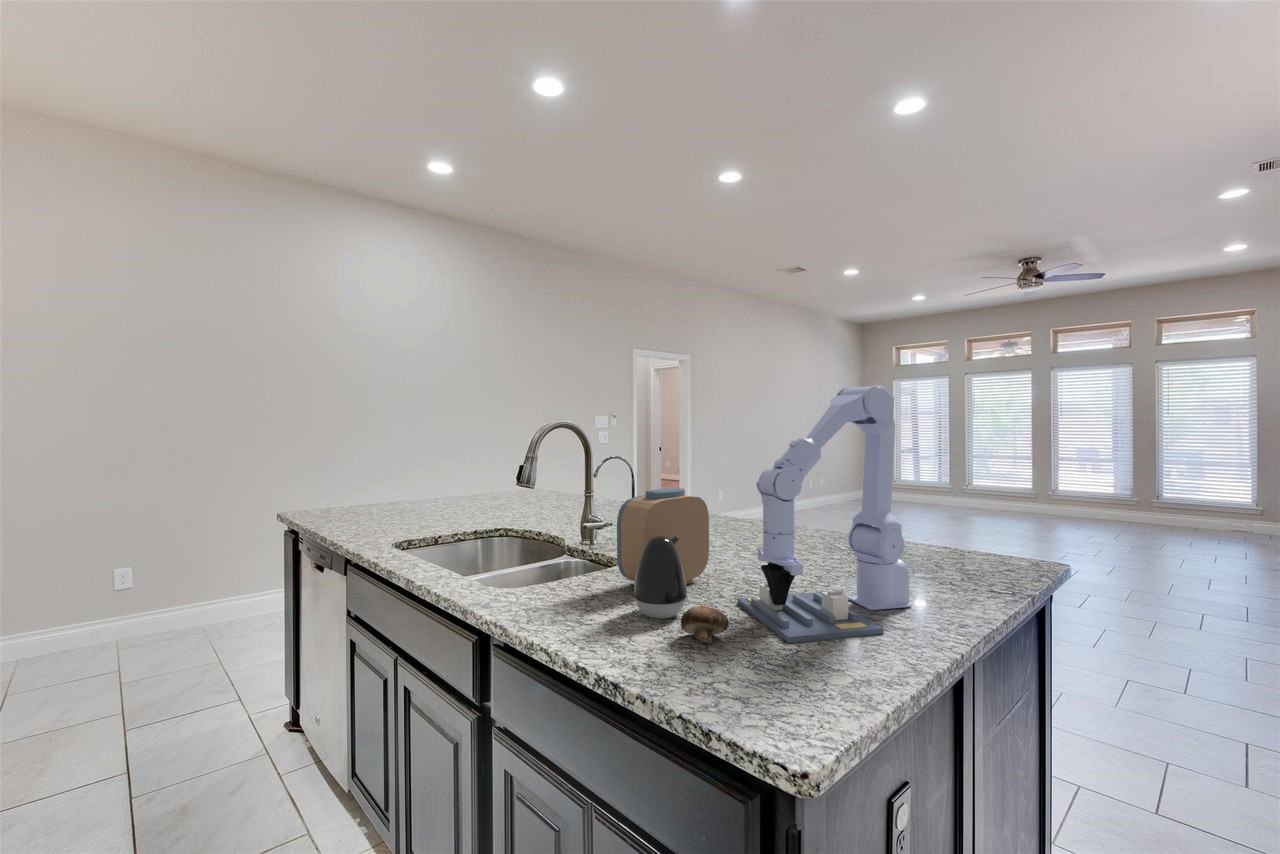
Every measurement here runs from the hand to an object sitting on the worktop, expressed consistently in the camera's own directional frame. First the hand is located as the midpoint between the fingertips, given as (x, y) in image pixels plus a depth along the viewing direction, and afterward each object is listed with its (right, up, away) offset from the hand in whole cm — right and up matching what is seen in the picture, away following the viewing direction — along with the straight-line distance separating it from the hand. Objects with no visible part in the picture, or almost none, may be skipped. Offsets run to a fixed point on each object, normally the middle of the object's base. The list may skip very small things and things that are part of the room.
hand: (779, 604), depth 108 cm
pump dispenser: (-22, -3, +3) cm, 22 cm away
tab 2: (+10, -2, -2) cm, 10 cm away
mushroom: (-15, -3, -10) cm, 18 cm away
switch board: (+5, -3, +1) cm, 6 cm away
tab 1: (-1, -2, +3) cm, 4 cm away
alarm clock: (-21, -3, +23) cm, 31 cm away
